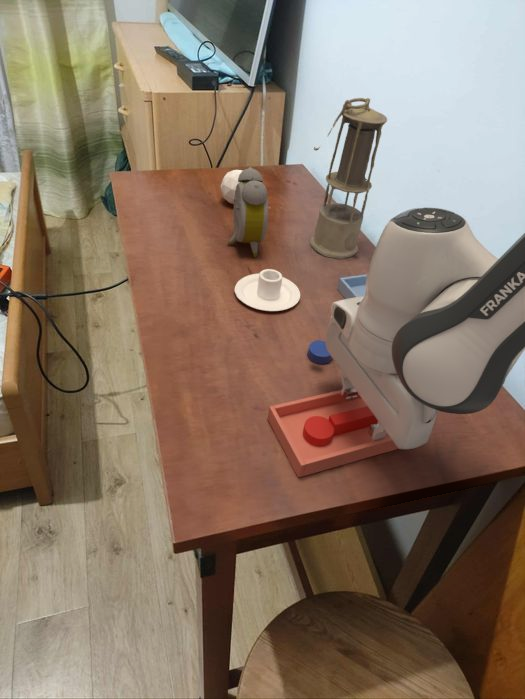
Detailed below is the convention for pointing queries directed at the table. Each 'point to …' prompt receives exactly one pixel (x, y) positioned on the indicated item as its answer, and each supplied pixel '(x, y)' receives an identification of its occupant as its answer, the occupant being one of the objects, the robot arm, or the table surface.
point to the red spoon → (336, 425)
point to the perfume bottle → (230, 185)
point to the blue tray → (352, 286)
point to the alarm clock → (250, 210)
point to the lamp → (348, 181)
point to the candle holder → (267, 291)
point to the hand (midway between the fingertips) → (361, 416)
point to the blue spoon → (319, 352)
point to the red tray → (342, 447)
